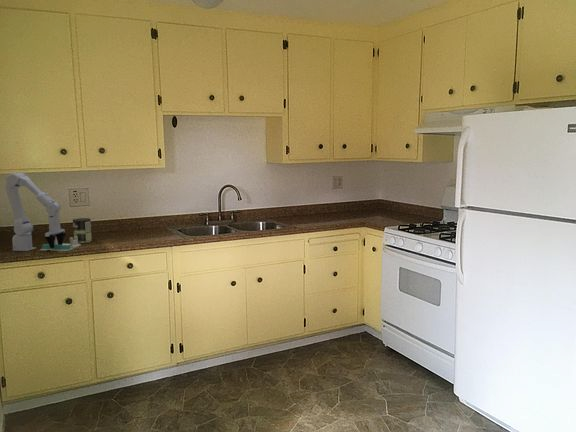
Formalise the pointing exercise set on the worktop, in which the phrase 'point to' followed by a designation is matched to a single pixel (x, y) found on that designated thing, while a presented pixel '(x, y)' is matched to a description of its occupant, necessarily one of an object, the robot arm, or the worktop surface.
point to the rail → (56, 247)
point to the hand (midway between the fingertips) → (56, 246)
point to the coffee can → (82, 229)
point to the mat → (56, 249)
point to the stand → (71, 242)
